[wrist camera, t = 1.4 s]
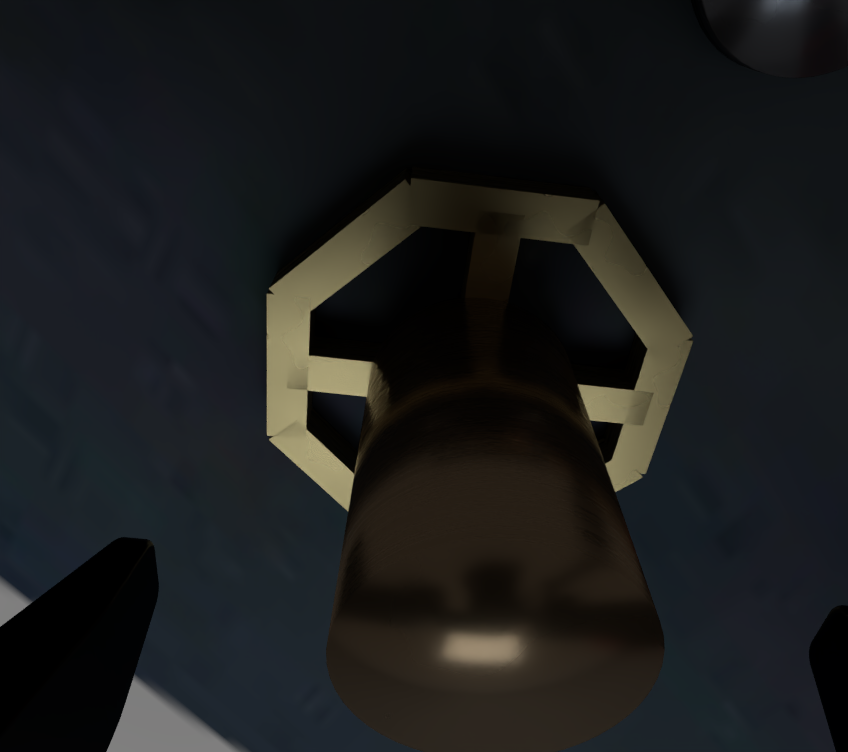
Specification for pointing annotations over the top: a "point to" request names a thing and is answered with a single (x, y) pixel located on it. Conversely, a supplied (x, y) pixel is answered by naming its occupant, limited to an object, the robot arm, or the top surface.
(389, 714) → the octagonal handwheel knob
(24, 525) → the top surface
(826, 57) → the zigzag metal pull handle
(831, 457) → the top surface
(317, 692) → the top surface
